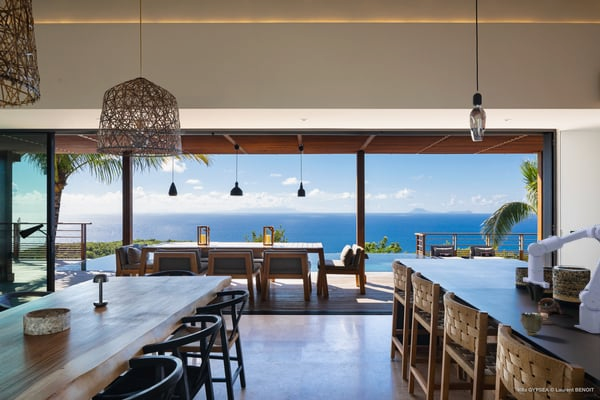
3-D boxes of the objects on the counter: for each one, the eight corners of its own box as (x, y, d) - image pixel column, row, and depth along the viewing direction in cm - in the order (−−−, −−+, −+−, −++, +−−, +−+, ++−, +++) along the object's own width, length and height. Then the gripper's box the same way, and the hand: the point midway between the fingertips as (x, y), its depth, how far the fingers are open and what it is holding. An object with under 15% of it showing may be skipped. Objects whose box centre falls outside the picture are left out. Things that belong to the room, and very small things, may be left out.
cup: (522, 330, 155) (522, 311, 156) (544, 334, 151) (544, 314, 151) (519, 335, 150) (519, 314, 150) (541, 339, 145) (541, 318, 145)
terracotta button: (549, 318, 166) (549, 314, 166) (543, 318, 166) (543, 314, 166) (545, 316, 169) (545, 312, 169) (538, 316, 169) (538, 312, 169)
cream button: (532, 318, 166) (532, 314, 166) (526, 318, 166) (526, 314, 166) (528, 316, 169) (528, 312, 169) (522, 316, 168) (522, 312, 168)
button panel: (551, 324, 165) (551, 321, 165) (527, 324, 164) (527, 321, 164) (544, 321, 170) (543, 318, 170) (520, 321, 169) (520, 318, 169)
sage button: (541, 318, 166) (541, 314, 166) (534, 318, 166) (534, 314, 166) (536, 316, 169) (536, 312, 169) (530, 316, 169) (530, 312, 169)
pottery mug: (568, 317, 179) (562, 303, 177) (548, 325, 180) (542, 310, 179) (553, 304, 190) (547, 291, 189) (534, 312, 192) (528, 298, 190)
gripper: (516, 267, 175) (516, 297, 174) (538, 272, 160) (538, 305, 160) (531, 267, 175) (531, 297, 175) (554, 273, 161) (554, 305, 160)
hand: (535, 301), depth 167 cm, fingers closed
